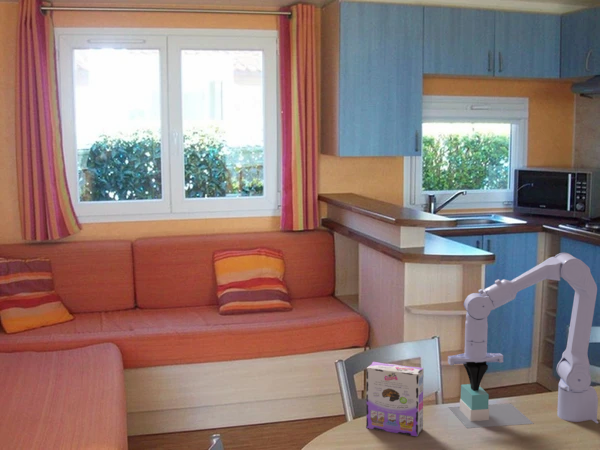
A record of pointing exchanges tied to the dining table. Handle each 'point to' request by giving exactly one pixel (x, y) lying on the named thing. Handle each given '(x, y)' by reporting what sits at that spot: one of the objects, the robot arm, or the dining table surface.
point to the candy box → (394, 398)
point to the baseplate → (490, 415)
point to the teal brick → (474, 397)
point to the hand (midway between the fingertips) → (474, 389)
